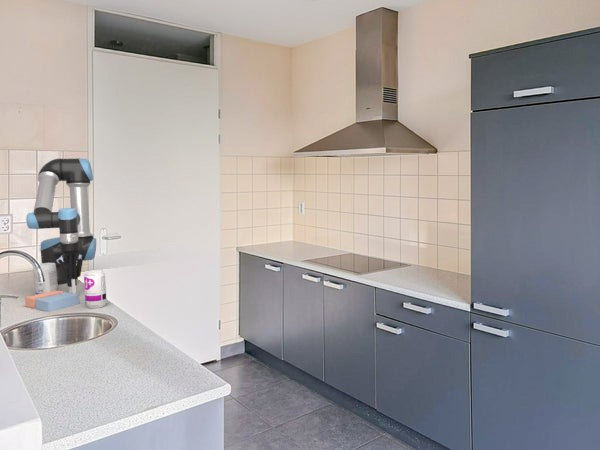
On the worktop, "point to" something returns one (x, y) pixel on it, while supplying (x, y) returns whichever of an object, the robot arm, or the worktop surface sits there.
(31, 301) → the orange rectangular block
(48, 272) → the supplement tub
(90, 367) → the worktop surface
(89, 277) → the supplement can
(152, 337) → the worktop surface
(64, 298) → the blue rectangular block
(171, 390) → the worktop surface
